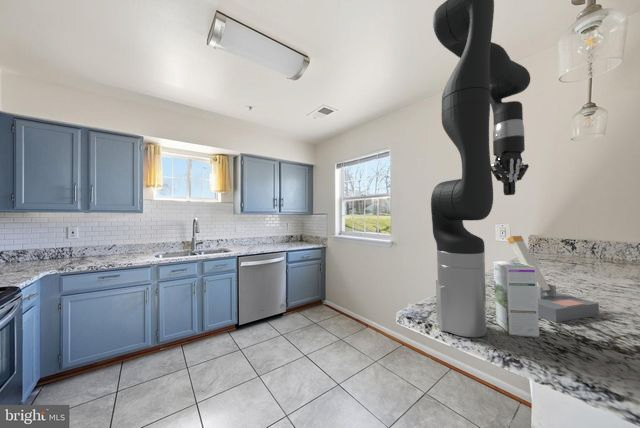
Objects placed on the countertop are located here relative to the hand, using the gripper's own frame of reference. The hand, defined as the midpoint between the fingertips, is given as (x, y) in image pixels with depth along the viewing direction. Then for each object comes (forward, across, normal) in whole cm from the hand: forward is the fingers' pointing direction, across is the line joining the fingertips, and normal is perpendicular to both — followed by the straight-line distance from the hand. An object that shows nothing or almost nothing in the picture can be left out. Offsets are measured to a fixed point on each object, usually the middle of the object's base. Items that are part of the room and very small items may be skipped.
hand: (509, 194), depth 73 cm
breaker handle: (+27, 0, -9) cm, 28 cm away
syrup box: (+31, -20, -16) cm, 40 cm away
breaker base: (+31, 0, -9) cm, 32 cm away
